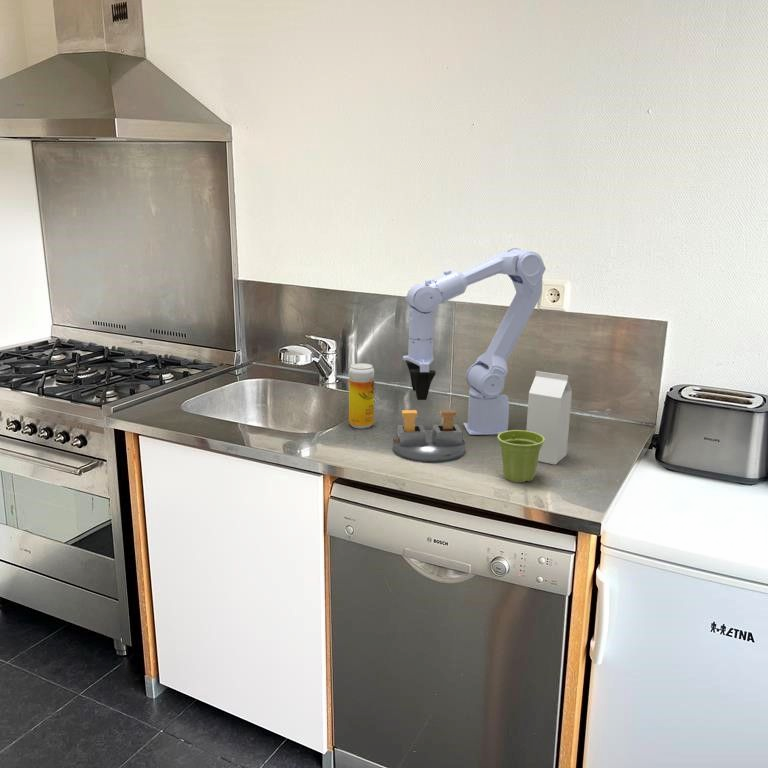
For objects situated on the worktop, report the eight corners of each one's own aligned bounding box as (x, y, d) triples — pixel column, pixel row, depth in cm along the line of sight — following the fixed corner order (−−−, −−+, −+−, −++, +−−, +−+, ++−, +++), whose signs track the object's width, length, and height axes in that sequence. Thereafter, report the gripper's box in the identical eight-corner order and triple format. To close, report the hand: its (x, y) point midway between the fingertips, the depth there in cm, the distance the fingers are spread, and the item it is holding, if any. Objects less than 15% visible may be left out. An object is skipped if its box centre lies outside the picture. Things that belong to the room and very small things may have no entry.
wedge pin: (415, 439, 171) (416, 410, 169) (416, 443, 169) (417, 413, 167) (401, 440, 171) (401, 410, 169) (402, 443, 169) (402, 413, 167)
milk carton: (555, 465, 163) (562, 379, 158) (524, 458, 166) (529, 374, 161) (566, 455, 168) (573, 372, 163) (536, 449, 172) (542, 367, 167)
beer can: (370, 430, 183) (371, 369, 179) (346, 428, 185) (346, 368, 181) (376, 422, 189) (376, 363, 185) (352, 420, 190) (352, 362, 186)
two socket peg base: (457, 437, 179) (459, 400, 177) (471, 462, 164) (472, 422, 161) (389, 438, 178) (390, 401, 175) (396, 463, 162) (397, 423, 160)
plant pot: (489, 481, 154) (491, 440, 151) (502, 466, 162) (504, 427, 160) (535, 489, 150) (538, 447, 148) (546, 473, 158) (549, 433, 156)
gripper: (400, 331, 181) (399, 386, 184) (407, 344, 167) (406, 404, 170) (429, 331, 181) (428, 386, 185) (439, 344, 167) (437, 403, 171)
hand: (419, 394), depth 178 cm, fingers open, 7 cm apart
